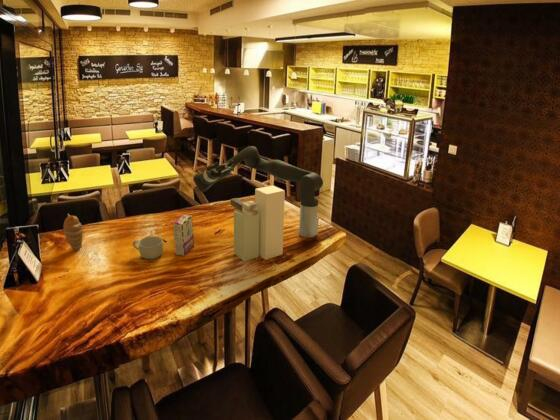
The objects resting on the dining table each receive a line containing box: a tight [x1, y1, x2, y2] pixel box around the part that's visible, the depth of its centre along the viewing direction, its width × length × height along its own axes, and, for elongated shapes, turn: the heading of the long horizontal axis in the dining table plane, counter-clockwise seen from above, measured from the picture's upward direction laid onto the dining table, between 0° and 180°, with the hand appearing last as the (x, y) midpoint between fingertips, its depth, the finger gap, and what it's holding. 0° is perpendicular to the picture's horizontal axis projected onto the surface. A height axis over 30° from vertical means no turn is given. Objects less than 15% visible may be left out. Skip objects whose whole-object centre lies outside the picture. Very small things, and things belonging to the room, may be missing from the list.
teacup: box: [132, 235, 164, 260], centre depth 177 cm, size 14×11×8 cm
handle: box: [230, 197, 258, 217], centre depth 176 cm, size 5×17×5 cm, turn 37°
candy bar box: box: [172, 214, 195, 257], centre depth 182 cm, size 11×5×16 cm, turn 168°
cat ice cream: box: [62, 213, 84, 251], centre depth 179 cm, size 9×8×18 cm
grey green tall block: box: [233, 209, 260, 262], centre depth 178 cm, size 8×9×22 cm
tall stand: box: [254, 185, 286, 261], centre depth 179 cm, size 10×9×32 cm
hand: (225, 163), depth 188 cm, fingers open, 8 cm apart
